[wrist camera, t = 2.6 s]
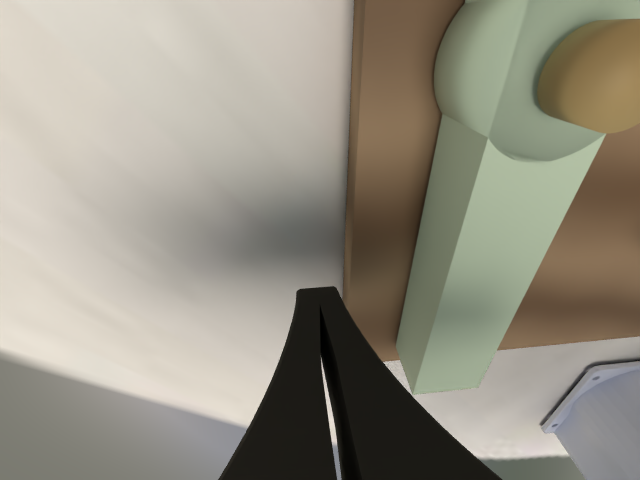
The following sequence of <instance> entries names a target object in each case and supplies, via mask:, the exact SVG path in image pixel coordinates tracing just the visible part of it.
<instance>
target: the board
mask: <svg viewBox="0 0 640 480" xmlns="http://www.w3.org/2000/svg"><path fill="white" fill-rule="evenodd" d="M464 4H465V0H354V23H353V48H352V74H351V99H350V125H349V150H348V175H347V201H346V226H345V252H344V277H343V303H344V305H345V307H346V308H347V310H348V312H349V314H350V315H351V317H352V319H353V320H354V322H355V323H356V325H357V327H358V328H359V330H360V331H361V333H362V334H363V336H364V337H365V339H366V340H367V341H368V343H369V344H370V346H371V347H372V348H373V350H374V351H375V352H376V354H377V355H378V357H379V358H380V359H381V360H382V362H385V361H395V360H400V358H399V355H398V352H397V349H396V342H397V337H398V332H399V327H400V322H401V317H402V312H403V307H404V302H405V297H406V292H407V288H408V283H409V278H410V273H411V268H412V263H413V258H414V253H415V248H416V243H417V238H418V233H419V228H420V223H421V218H422V213H423V208H424V203H425V198H426V193H427V188H428V183H429V178H430V173H431V168H432V163H433V158H434V153H435V149H436V144H437V139H438V134H439V129H440V124H441V119H442V112H441V111H440V108H439V106H438V104H437V100H436V96H435V90H434V69H435V62H436V58H437V54H438V50H439V47H440V44H441V42H442V39H443V37H444V35H445V33H446V30H447V29H448V27H449V25H450V23H451V22H452V20H453V18H454V17H455V15H456V14H457V13H458V11H459V10H460V8H461V7H462V6H463V5H464ZM537 97H538V102H539V105H540V107H541V109H542V110H543V111H544V112H545V113H546V114H547V115H548V116H550V117H553V118H556V119H559V120H562V121H565V122H568V123H572V124H575V125H578V126H581V127H584V128H587V129H590V130H593V131H596V132H600V133H606V135H605V137H604V139H603V141H602V143H601V145H600V147H599V149H598V151H597V153H596V155H595V157H594V159H593V161H592V163H591V165H590V167H589V169H588V171H587V173H586V175H585V177H584V179H583V181H582V183H581V185H580V187H579V189H578V191H577V193H576V195H575V197H574V199H573V201H572V203H571V205H570V207H569V209H568V210H567V212H566V214H565V216H564V218H563V220H562V222H561V224H560V226H559V228H558V230H557V232H556V234H555V236H554V238H553V240H552V242H551V244H550V246H549V248H548V250H547V252H546V254H545V256H544V258H543V260H542V262H541V264H540V266H539V268H538V270H537V272H536V274H535V276H534V278H533V280H532V282H531V284H530V286H529V288H528V290H527V291H526V293H525V295H524V297H523V299H522V301H521V303H520V305H519V307H518V309H517V311H516V313H515V315H514V317H513V319H512V321H511V323H510V325H509V327H508V329H507V331H506V333H505V335H504V337H503V339H502V341H501V343H500V345H499V347H498V349H497V350H506V349H516V348H526V347H536V346H546V345H556V344H566V343H576V342H587V341H597V340H607V339H617V338H627V337H637V336H640V19H614V20H597V21H593V22H590V23H588V24H585V25H583V26H581V27H579V28H578V29H576V30H575V31H573V32H572V33H571V34H569V35H568V36H567V37H566V38H565V39H564V40H563V41H562V42H561V43H560V44H559V45H558V46H557V47H556V48H555V50H554V51H553V52H552V54H551V55H550V57H549V58H548V60H547V61H546V63H545V65H544V67H543V70H542V72H541V75H540V78H539V82H538V88H537Z"/></svg>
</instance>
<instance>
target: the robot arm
mask: <svg viewBox="0 0 640 480" xmlns="http://www.w3.org/2000/svg"><path fill="white" fill-rule="evenodd" d="M321 358H322V363H323V368H324V373H325V378H326V382H327V387H328V392H329V397H330V402H331V407H332V412H333V417H334V423H335V429H336V436H337V445H338V452H339V461H340V469H341V478H342V480H502V479H501V478H500V477H499V476H498V475H496V474H495V473H494V472H493V471H492V470H490V469H489V468H488V467H487V466H485V465H484V464H483V463H482V462H481V461H480V460H479V459H477V458H476V457H475V456H474V455H473V454H472V453H471V452H470V451H468V450H467V449H466V448H465V447H464V446H463V445H462V444H460V443H459V442H458V441H457V440H456V439H455V438H454V437H453V436H452V435H451V434H450V433H449V432H448V431H446V430H445V429H444V428H443V427H442V426H441V425H440V424H439V423H438V422H437V421H436V420H435V419H434V418H433V417H432V416H431V415H430V414H429V413H428V412H427V411H426V410H425V409H424V408H423V407H422V406H421V405H420V404H419V403H418V402H417V401H416V400H415V399H414V398H413V397H412V395H411V394H410V393H409V392H408V391H407V390H406V389H405V388H404V387H403V386H402V384H401V383H400V382H399V381H398V380H397V379H396V377H395V376H394V375H393V374H392V373H391V372H390V370H389V369H388V368H387V367H386V365H385V364H384V363H383V362H382V360H381V359H380V358H379V357H378V355H377V354H376V352H375V351H374V350H373V348H372V347H371V346H370V344H369V343H368V341H367V340H366V339H365V337H364V336H363V334H362V333H361V331H360V330H359V328H358V327H357V325H356V323H355V322H354V320H353V319H352V317H351V315H350V314H349V312H348V310H347V308H346V307H345V305H344V303H343V301H342V299H341V297H340V295H339V292H338V290H337V288H336V287H334V286H331V287H319V288H306V289H299V290H298V291H297V293H296V305H295V310H294V315H293V319H292V323H291V326H290V330H289V333H288V337H287V340H286V343H285V346H284V349H283V352H282V354H281V357H280V360H279V363H278V365H277V368H276V370H275V373H274V375H273V377H272V380H271V382H270V384H269V387H268V389H267V391H266V393H265V395H264V398H263V400H262V402H261V404H260V406H259V408H258V410H257V412H256V414H255V416H254V418H253V420H252V422H251V424H250V426H249V427H248V429H247V431H246V433H245V435H244V437H243V438H242V440H241V442H240V443H239V445H238V447H237V449H236V450H235V452H234V454H233V456H232V458H231V459H230V461H229V463H228V465H227V466H226V468H225V469H224V471H223V473H222V475H221V476H220V478H219V479H218V480H337V476H336V469H335V463H334V456H333V448H332V442H331V435H330V428H329V421H328V413H327V406H326V399H325V391H324V384H323V376H322V369H321ZM541 429H542V430H543V432H544V433H555V435H556V436H557V438H558V439H559V441H560V442H561V444H562V445H563V447H564V448H565V450H566V451H567V452H568V454H569V455H570V457H571V458H572V460H573V461H574V463H575V464H576V466H577V467H578V469H579V470H580V472H581V473H582V475H583V476H584V478H585V479H586V480H640V361H636V362H627V363H617V364H608V365H598V366H594V367H592V368H591V369H589V371H588V372H587V373H586V374H585V375H584V377H583V378H582V379H581V380H580V381H579V383H578V384H577V385H576V386H575V387H574V389H573V390H572V391H571V392H570V393H569V395H568V396H567V397H566V398H565V399H564V401H563V402H562V403H561V404H560V405H559V407H558V408H557V409H556V410H555V411H554V413H553V414H552V415H551V416H550V417H549V419H548V420H547V421H546V422H545V424H544V425H543V426H542V428H541Z"/></svg>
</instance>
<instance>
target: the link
mask: <svg viewBox="0 0 640 480" xmlns="http://www.w3.org/2000/svg"><path fill="white" fill-rule="evenodd" d="M614 19H640V0H465V4H464V5H463V6H462V7H461V8H460V10H459V11H458V13H457V14H456V15H455V17H454V18H453V20H452V22H451V23H450V25H449V27H448V29H447V30H446V33H445V35H444V37H443V39H442V42H441V44H440V47H439V50H438V54H437V58H436V62H435V69H434V90H435V96H436V100H437V104H438V106H439V108H440V111H441V112H442V119H441V124H440V129H439V134H438V139H437V144H436V149H435V153H434V158H433V163H432V168H431V173H430V178H429V183H428V188H427V193H426V198H425V203H424V208H423V213H422V218H421V223H420V228H419V233H418V238H417V243H416V248H415V253H414V258H413V263H412V268H411V273H410V278H409V283H408V288H407V292H406V297H405V302H404V307H403V312H402V317H401V322H400V327H399V332H398V337H397V342H396V349H397V352H398V355H399V358H400V360H401V363H402V366H403V369H404V372H405V374H406V377H407V380H408V383H409V386H410V389H411V391H412V394H413V395H415V394H424V393H434V392H443V391H452V390H461V389H471V388H478V386H479V384H480V382H481V380H482V378H483V376H484V374H485V373H486V371H487V369H488V367H489V365H490V363H491V361H492V359H493V357H494V355H495V353H496V351H497V349H498V347H499V345H500V343H501V341H502V339H503V337H504V335H505V333H506V331H507V329H508V327H509V325H510V323H511V321H512V319H513V317H514V315H515V313H516V311H517V309H518V307H519V305H520V303H521V301H522V299H523V297H524V295H525V293H526V291H527V290H528V288H529V286H530V284H531V282H532V280H533V278H534V276H535V274H536V272H537V270H538V268H539V266H540V264H541V262H542V260H543V258H544V256H545V254H546V252H547V250H548V248H549V246H550V244H551V242H552V240H553V238H554V236H555V234H556V232H557V230H558V228H559V226H560V224H561V222H562V220H563V218H564V216H565V214H566V212H567V210H568V209H569V207H570V205H571V203H572V201H573V199H574V197H575V195H576V193H577V191H578V189H579V187H580V185H581V183H582V181H583V179H584V177H585V175H586V173H587V171H588V169H589V167H590V165H591V163H592V161H593V159H594V157H595V155H596V153H597V151H598V149H599V147H600V145H601V143H602V141H603V139H604V137H605V135H606V133H600V132H596V131H593V130H590V129H587V128H584V127H581V126H578V125H575V124H572V123H568V122H565V121H562V120H559V119H556V118H553V117H550V116H548V115H547V114H546V113H545V112H544V111H543V110H542V109H541V107H540V105H539V102H538V97H537V88H538V82H539V78H540V75H541V72H542V70H543V67H544V65H545V63H546V61H547V60H548V58H549V57H550V55H551V54H552V52H553V51H554V50H555V48H556V47H557V46H558V45H559V44H560V43H561V42H562V41H563V40H564V39H565V38H566V37H567V36H568V35H569V34H571V33H572V32H573V31H575V30H576V29H578V28H579V27H581V26H583V25H585V24H588V23H590V22H593V21H597V20H614Z"/></svg>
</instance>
